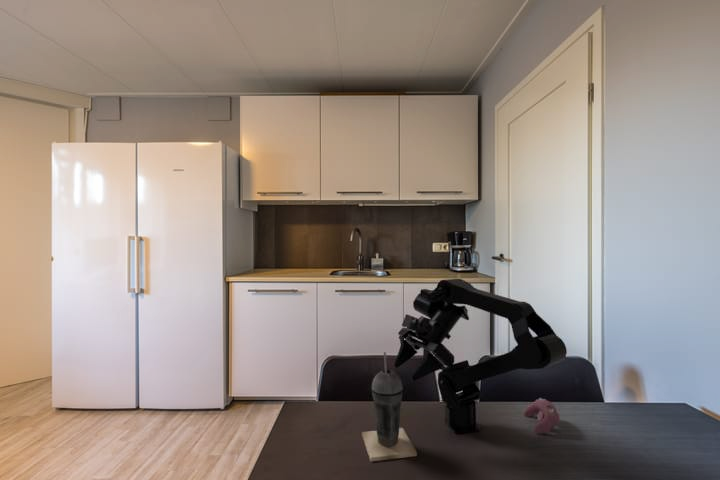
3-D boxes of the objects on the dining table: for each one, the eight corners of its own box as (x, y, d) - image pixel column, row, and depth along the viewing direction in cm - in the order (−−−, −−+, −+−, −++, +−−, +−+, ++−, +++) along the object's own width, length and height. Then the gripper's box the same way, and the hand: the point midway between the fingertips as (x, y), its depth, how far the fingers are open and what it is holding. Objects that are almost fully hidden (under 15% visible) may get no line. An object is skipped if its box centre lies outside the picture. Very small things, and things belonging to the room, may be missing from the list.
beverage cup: (408, 436, 77) (407, 348, 78) (397, 453, 71) (396, 357, 72) (379, 429, 81) (377, 345, 81) (366, 445, 74) (365, 353, 75)
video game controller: (552, 442, 78) (566, 416, 78) (533, 432, 79) (547, 406, 79) (538, 421, 88) (550, 398, 88) (521, 412, 89) (533, 389, 89)
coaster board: (402, 431, 81) (402, 427, 81) (416, 455, 71) (416, 452, 71) (361, 435, 79) (361, 432, 79) (370, 461, 70) (370, 457, 70)
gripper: (404, 298, 94) (367, 342, 90) (442, 308, 76) (399, 364, 72) (429, 324, 96) (394, 368, 92) (471, 340, 79) (431, 395, 74)
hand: (403, 372), depth 83 cm, fingers open, 9 cm apart
